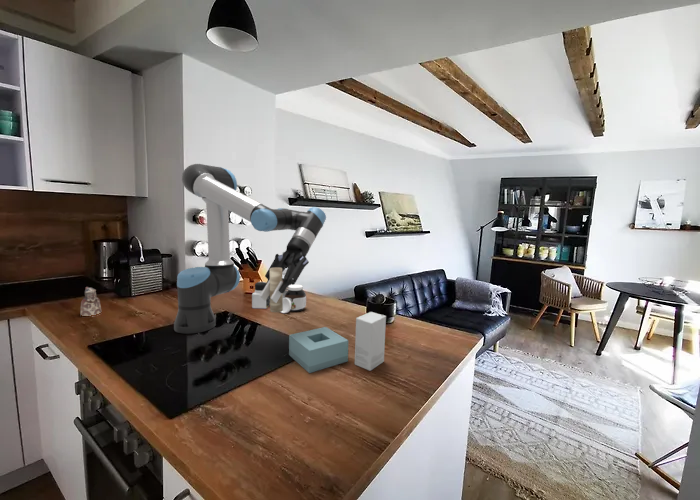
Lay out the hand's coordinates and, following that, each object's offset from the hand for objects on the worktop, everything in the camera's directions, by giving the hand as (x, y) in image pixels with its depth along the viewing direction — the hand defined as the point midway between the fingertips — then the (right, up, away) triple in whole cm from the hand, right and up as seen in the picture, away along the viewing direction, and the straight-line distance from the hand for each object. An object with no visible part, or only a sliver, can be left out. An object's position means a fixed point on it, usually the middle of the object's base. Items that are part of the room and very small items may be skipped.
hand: (268, 299), depth 101 cm
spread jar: (-1, -14, +51) cm, 53 cm away
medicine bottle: (-18, -12, +56) cm, 60 cm away
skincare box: (+32, -21, 0) cm, 38 cm away
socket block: (+16, -20, +3) cm, 25 cm away
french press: (-11, -10, +74) cm, 76 cm away
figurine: (-87, -13, +38) cm, 96 cm away
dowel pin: (+2, -4, +4) cm, 6 cm away
